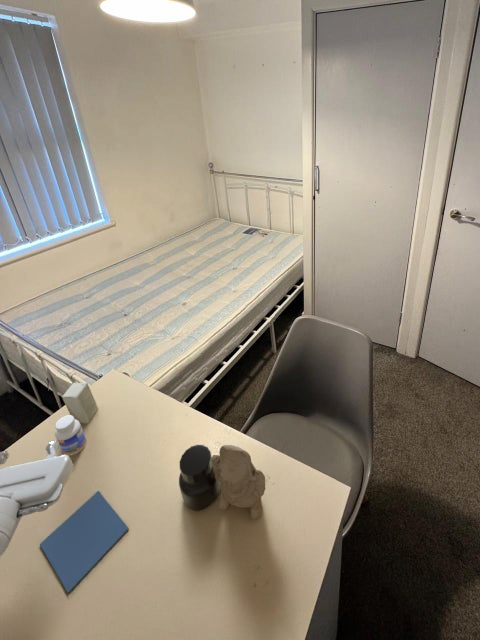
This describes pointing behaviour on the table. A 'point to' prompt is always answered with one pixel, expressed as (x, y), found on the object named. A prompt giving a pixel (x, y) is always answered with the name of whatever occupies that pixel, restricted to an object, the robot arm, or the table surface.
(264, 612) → the table surface
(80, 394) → the box
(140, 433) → the table surface
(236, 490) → the figurine
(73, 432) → the pill bottle
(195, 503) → the ink bottle
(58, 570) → the mat
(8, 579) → the table surface
